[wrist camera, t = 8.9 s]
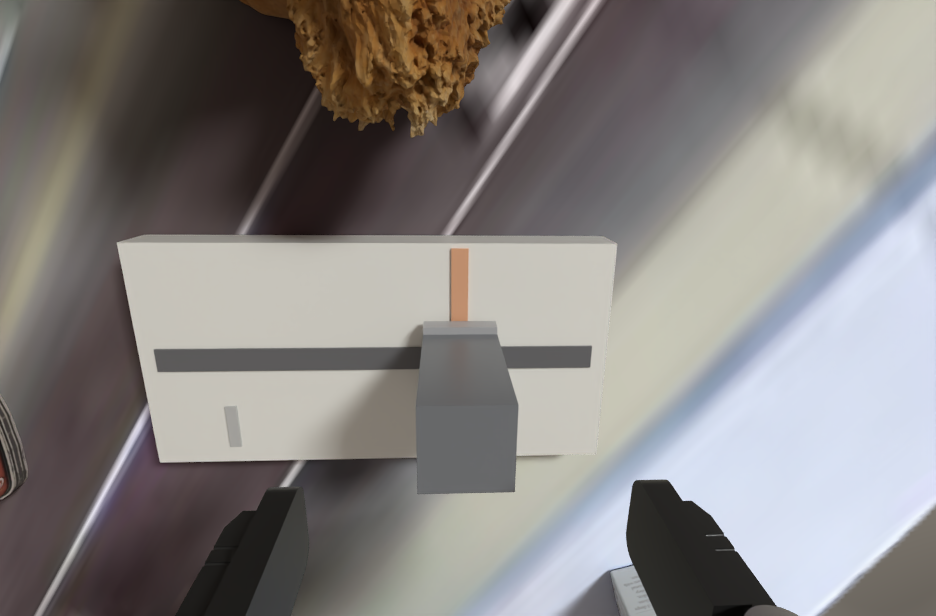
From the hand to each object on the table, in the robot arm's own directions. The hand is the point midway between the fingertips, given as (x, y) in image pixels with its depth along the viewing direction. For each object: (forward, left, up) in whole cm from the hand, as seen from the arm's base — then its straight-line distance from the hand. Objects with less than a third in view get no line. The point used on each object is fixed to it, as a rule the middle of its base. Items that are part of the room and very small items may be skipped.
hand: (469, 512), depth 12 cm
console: (0, -3, -12) cm, 13 cm away
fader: (0, 0, -10) cm, 10 cm away
